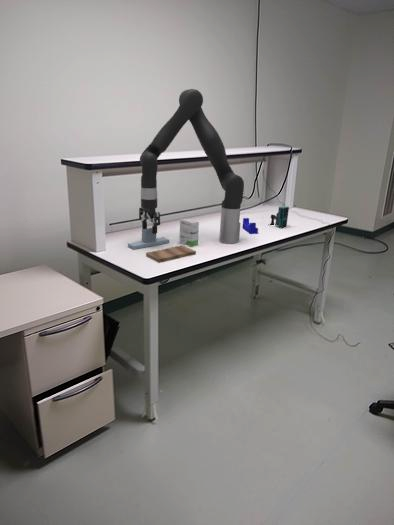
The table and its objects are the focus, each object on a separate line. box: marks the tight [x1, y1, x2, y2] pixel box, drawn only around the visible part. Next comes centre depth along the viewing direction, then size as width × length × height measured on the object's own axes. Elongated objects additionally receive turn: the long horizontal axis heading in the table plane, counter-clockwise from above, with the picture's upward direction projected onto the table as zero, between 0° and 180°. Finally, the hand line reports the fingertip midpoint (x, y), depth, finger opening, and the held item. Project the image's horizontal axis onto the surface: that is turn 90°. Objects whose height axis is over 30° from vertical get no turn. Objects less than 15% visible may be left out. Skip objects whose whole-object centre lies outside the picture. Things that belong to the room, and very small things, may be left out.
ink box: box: [179, 218, 200, 248], centre depth 193 cm, size 9×5×12 cm, turn 46°
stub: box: [127, 227, 170, 250], centre depth 189 cm, size 20×5×8 cm, turn 130°
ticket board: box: [145, 244, 197, 264], centre depth 177 cm, size 20×10×2 cm, turn 130°
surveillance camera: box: [267, 206, 290, 229], centre depth 233 cm, size 6×12×10 cm
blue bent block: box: [241, 217, 259, 235], centre depth 221 cm, size 12×4×6 cm, turn 13°
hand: (149, 231), depth 189 cm, fingers open, 8 cm apart
